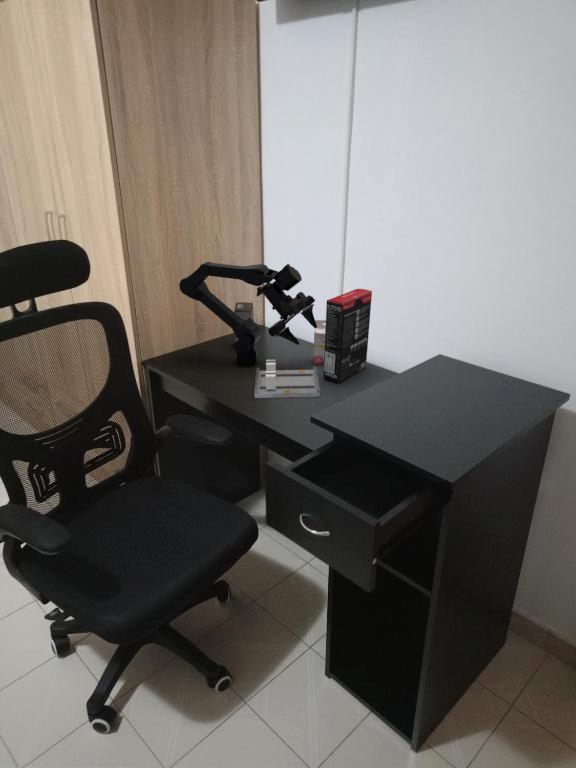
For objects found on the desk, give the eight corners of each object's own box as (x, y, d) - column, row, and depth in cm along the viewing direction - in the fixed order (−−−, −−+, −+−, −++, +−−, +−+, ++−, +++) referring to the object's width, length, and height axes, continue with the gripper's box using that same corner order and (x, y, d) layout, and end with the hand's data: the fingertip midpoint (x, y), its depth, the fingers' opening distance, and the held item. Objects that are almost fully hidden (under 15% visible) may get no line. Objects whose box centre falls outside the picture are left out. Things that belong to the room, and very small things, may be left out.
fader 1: (266, 377, 176) (266, 363, 174) (266, 371, 180) (266, 359, 178) (276, 376, 176) (275, 363, 174) (276, 371, 180) (275, 358, 178)
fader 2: (265, 389, 168) (265, 375, 166) (266, 383, 172) (265, 370, 170) (275, 389, 168) (275, 375, 166) (275, 383, 172) (275, 370, 170)
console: (254, 398, 167) (254, 390, 166) (256, 374, 183) (256, 367, 182) (319, 397, 168) (319, 389, 166) (316, 373, 183) (316, 366, 182)
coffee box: (238, 342, 209) (236, 302, 202) (255, 342, 209) (253, 301, 202) (236, 351, 201) (233, 309, 194) (253, 351, 201) (251, 309, 194)
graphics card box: (351, 362, 191) (354, 286, 179) (368, 367, 187) (373, 290, 175) (322, 379, 179) (324, 298, 167) (340, 385, 175) (342, 303, 163)
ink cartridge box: (313, 364, 190) (313, 324, 184) (314, 358, 195) (314, 319, 188) (337, 364, 189) (339, 324, 183) (338, 359, 194) (339, 319, 187)
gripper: (269, 308, 167) (300, 347, 169) (307, 275, 175) (337, 313, 177) (255, 317, 177) (285, 354, 179) (292, 286, 185) (320, 322, 187)
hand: (307, 336), depth 181 cm, fingers open, 9 cm apart
